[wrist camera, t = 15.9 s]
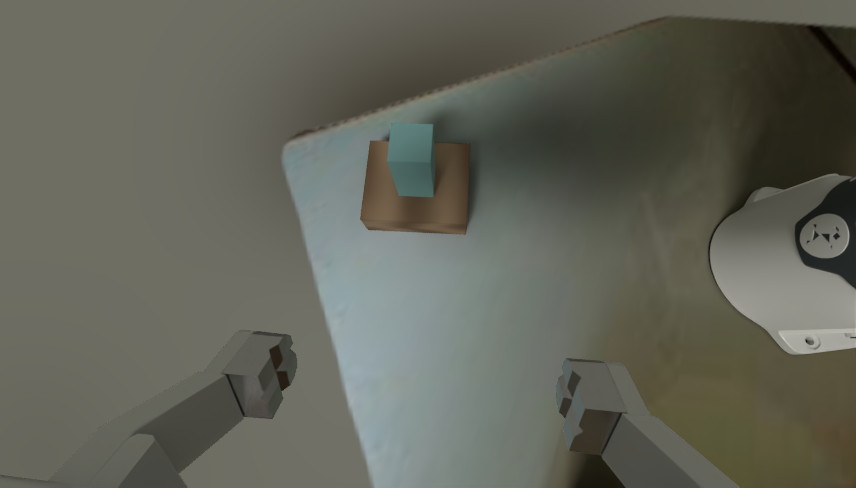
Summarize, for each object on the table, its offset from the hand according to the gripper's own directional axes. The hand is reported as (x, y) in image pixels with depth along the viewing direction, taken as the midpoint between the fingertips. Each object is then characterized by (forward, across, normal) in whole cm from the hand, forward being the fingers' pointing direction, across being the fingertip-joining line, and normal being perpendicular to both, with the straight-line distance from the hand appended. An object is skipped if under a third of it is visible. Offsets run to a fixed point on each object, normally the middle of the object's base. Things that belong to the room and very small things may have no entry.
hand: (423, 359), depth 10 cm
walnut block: (+33, +4, +8) cm, 35 cm away
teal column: (+30, +4, +5) cm, 31 cm away
